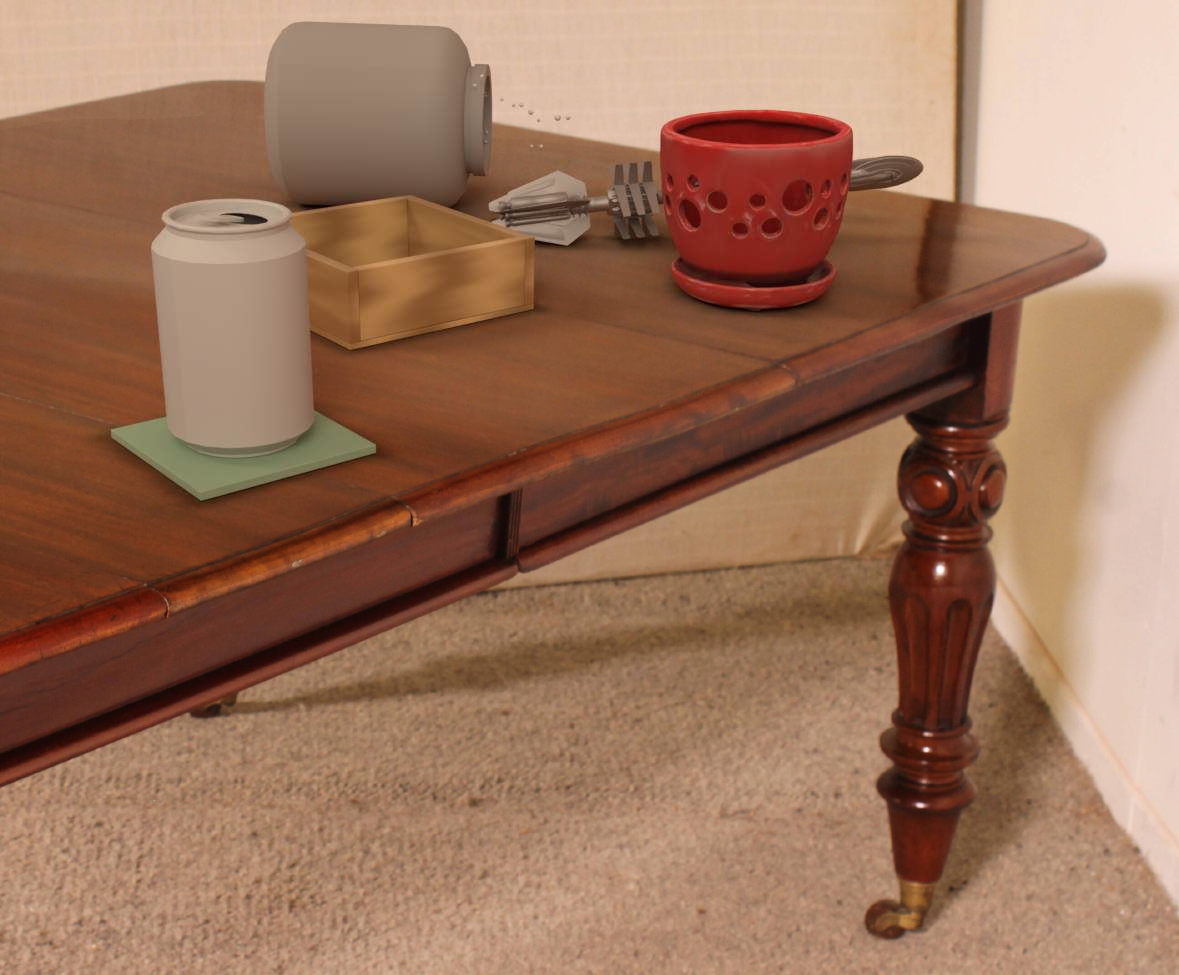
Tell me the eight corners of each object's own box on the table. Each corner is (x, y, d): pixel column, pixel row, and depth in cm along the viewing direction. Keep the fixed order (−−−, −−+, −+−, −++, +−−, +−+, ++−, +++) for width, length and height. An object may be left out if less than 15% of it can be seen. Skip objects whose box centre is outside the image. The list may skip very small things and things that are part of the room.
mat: (201, 501, 72) (200, 492, 71) (111, 438, 78) (110, 429, 78) (376, 453, 78) (376, 444, 77) (278, 398, 84) (278, 389, 84)
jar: (329, 114, 137) (594, 92, 132) (313, 259, 133) (587, 242, 128) (241, -12, 120) (542, -44, 115) (219, 150, 115) (532, 125, 110)
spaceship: (947, 153, 114) (914, 97, 119) (494, 204, 110) (480, 144, 115) (930, 236, 120) (899, 179, 125) (499, 288, 116) (486, 226, 121)
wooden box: (350, 350, 92) (347, 271, 90) (235, 293, 102) (230, 222, 100) (534, 309, 101) (535, 237, 99) (411, 261, 111) (410, 194, 109)
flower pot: (740, 258, 115) (752, 99, 110) (876, 299, 106) (895, 128, 101) (615, 286, 107) (621, 117, 102) (750, 333, 98) (764, 149, 93)
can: (345, 431, 79) (336, 207, 74) (241, 476, 73) (225, 236, 68) (243, 400, 83) (228, 184, 78) (137, 441, 77) (114, 211, 72)
